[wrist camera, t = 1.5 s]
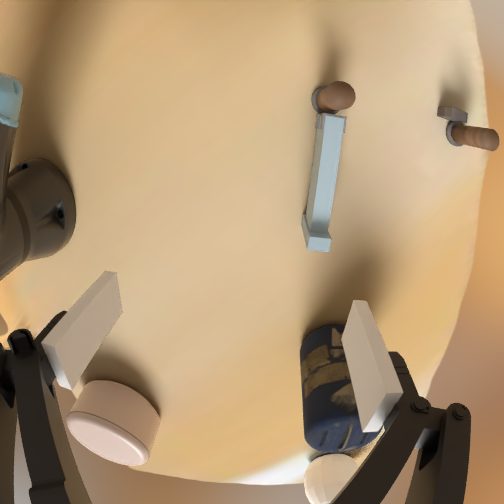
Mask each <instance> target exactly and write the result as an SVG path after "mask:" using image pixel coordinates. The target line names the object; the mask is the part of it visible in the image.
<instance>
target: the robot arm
mask: <svg viewBox="0 0 504 504" xmlns="http://www.w3.org/2000/svg"><path fill="white" fill-rule="evenodd" d="M22 98H23V86H22V84H21V82H20V81H19V80H18V79H17V78H15V77H13V76H10V75H7V74H4V73H0V280H2V279H3V278H4V277H5V276H6V275H8V274H9V273H10V272H11V271H13V270H14V269H15V268H16V267H18V266H19V265H20V264H22V263H23V262H25V261H30V260H35V259H40V258H45V257H49V256H51V255H53V254H55V253H57V252H58V251H59V250H61V249H62V248H63V247H64V246H65V245H66V244H67V243H68V242H69V240H70V239H71V236H72V234H73V231H74V227H75V219H76V212H75V203H74V198H73V195H72V191H71V189H70V186H69V184H68V182H67V180H66V178H65V177H64V175H63V174H62V172H61V171H60V170H59V169H58V168H57V167H56V166H55V165H54V164H52V163H51V162H49V161H47V160H44V159H40V158H35V159H30V160H27V161H24V162H21V163H19V164H17V165H16V166H15V167H13V168H12V169H11V170H10V171H9V168H10V161H11V155H12V149H13V143H14V138H15V133H16V128H17V127H18V125H19V121H18V119H19V113H20V108H21V103H22ZM122 313H123V311H122V305H121V299H120V292H119V285H118V278H117V272H110V271H105V272H104V273H103V274H102V275H101V276H100V277H99V278H98V279H97V280H96V281H95V282H94V283H93V284H92V286H91V287H90V288H89V289H88V290H87V291H86V292H85V293H84V294H83V295H82V296H81V297H80V298H79V300H78V301H77V302H76V303H75V304H74V305H73V306H72V307H71V308H70V310H69V311H68V312H67V311H62V312H60V313H59V314H57V315H56V316H55V317H54V318H53V319H52V320H51V321H50V323H48V325H47V326H46V327H45V328H44V329H43V330H42V331H41V333H40V334H39V335H38V336H37V337H36V338H35V340H33V337H32V335H31V332H30V331H29V330H27V329H18V330H15V331H13V332H12V333H11V334H10V335H9V336H8V339H7V341H8V344H9V346H10V348H11V350H4V348H3V346H2V344H1V343H0V504H14V447H15V434H16V422H17V415H18V419H19V425H20V432H21V438H22V443H23V448H24V453H25V458H26V462H27V467H28V471H29V475H30V478H31V482H32V488H30V489H29V496H30V500H31V503H32V504H92V502H91V500H90V498H89V496H88V493H87V491H86V488H85V486H84V484H83V481H82V478H81V476H80V473H79V471H78V468H77V465H76V462H75V460H74V457H73V454H72V451H71V448H70V445H69V441H68V439H67V435H66V431H65V428H64V424H63V421H62V417H61V413H60V409H59V405H58V401H57V397H56V392H55V388H54V385H53V383H52V382H53V381H54V379H55V378H56V379H57V381H58V383H59V385H60V386H62V387H65V388H67V389H70V390H73V388H74V386H75V385H76V383H77V381H78V380H79V378H80V377H81V375H82V373H83V372H84V370H85V369H86V367H87V365H88V364H89V362H90V361H91V359H92V358H93V356H94V354H95V353H96V351H97V350H98V348H99V347H100V345H101V344H102V342H103V341H104V339H105V338H106V336H107V335H108V333H109V332H110V330H111V329H112V327H113V326H114V324H115V323H116V321H117V320H118V318H119V317H120V315H121V314H122ZM341 340H342V344H343V348H344V352H345V356H346V360H347V364H348V368H349V372H350V377H351V381H352V385H353V390H354V394H355V399H356V403H357V408H358V413H359V417H360V422H361V427H362V432H376V431H379V429H380V428H381V426H382V425H384V429H385V432H384V433H383V435H382V436H381V437H380V439H379V440H378V441H377V444H376V445H375V446H374V448H373V449H372V451H371V452H370V453H369V455H368V456H367V458H366V459H365V460H364V462H363V463H362V464H361V466H360V467H359V468H358V470H357V471H356V472H355V473H354V475H353V476H352V477H351V478H350V480H349V481H348V482H347V483H346V485H345V486H344V487H343V488H342V489H341V491H340V492H339V493H338V494H337V495H336V496H335V498H334V499H333V500H332V501H331V502H330V503H329V504H380V503H381V502H382V500H383V499H384V497H385V495H386V494H387V493H388V491H389V490H390V488H391V486H392V485H393V483H394V482H395V480H396V478H397V477H398V475H399V474H400V472H401V470H402V469H403V467H404V465H405V463H406V462H407V460H408V458H409V456H410V455H411V453H412V451H413V449H414V448H416V449H419V451H418V456H417V460H416V465H415V469H414V473H413V477H412V480H411V484H410V488H409V492H408V495H407V498H406V502H405V504H463V501H464V494H465V488H466V481H467V473H468V463H469V450H470V433H471V415H470V412H469V410H468V408H467V407H465V406H464V405H462V404H460V403H453V404H451V405H450V406H449V407H448V408H447V409H446V410H444V409H439V408H434V407H431V405H430V403H429V402H428V400H426V399H425V398H424V397H421V396H419V395H418V392H417V390H416V387H415V385H414V382H413V380H412V377H411V375H410V374H409V370H408V368H407V365H406V363H405V361H404V359H403V358H402V356H401V355H400V354H399V353H398V352H388V351H387V348H386V346H385V343H384V341H383V338H382V336H381V334H380V331H379V329H378V326H377V324H376V322H375V319H374V317H373V315H372V312H371V310H370V308H369V306H368V303H367V301H363V300H353V303H352V306H351V310H350V313H349V316H348V320H347V323H346V326H345V329H344V332H343V335H342V338H341Z"/></svg>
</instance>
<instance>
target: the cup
mask: <svg viewBox="0 0 504 504" xmlns="http://www.w3.org/2000/svg"><path fill="white" fill-rule="evenodd" d="M357 470H358V465H357V463H356V462H355V460H354V459H353V458H351V457H349V456H347V455H345V454H339V453H338V454H328V455H323V456H321V457H318V458H316V459H315V460H314V461H312V462H311V463H310V464H309V465H308V467H307V470H306V472H305V475H304V487H305V494H306V496H307V498H308V499H309V501H310V503H311V504H329V503H330V502H331V501H332V500H333V499H334V498H335V496H336V495H337V494H338V493H339V492H340V491H341V489H342V488H343V487H344V486H345V485H346V483H347V482H348V481H349V480H350V478H351V477H352V476H353V475H354V473H355V472H356V471H357Z"/></svg>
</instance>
